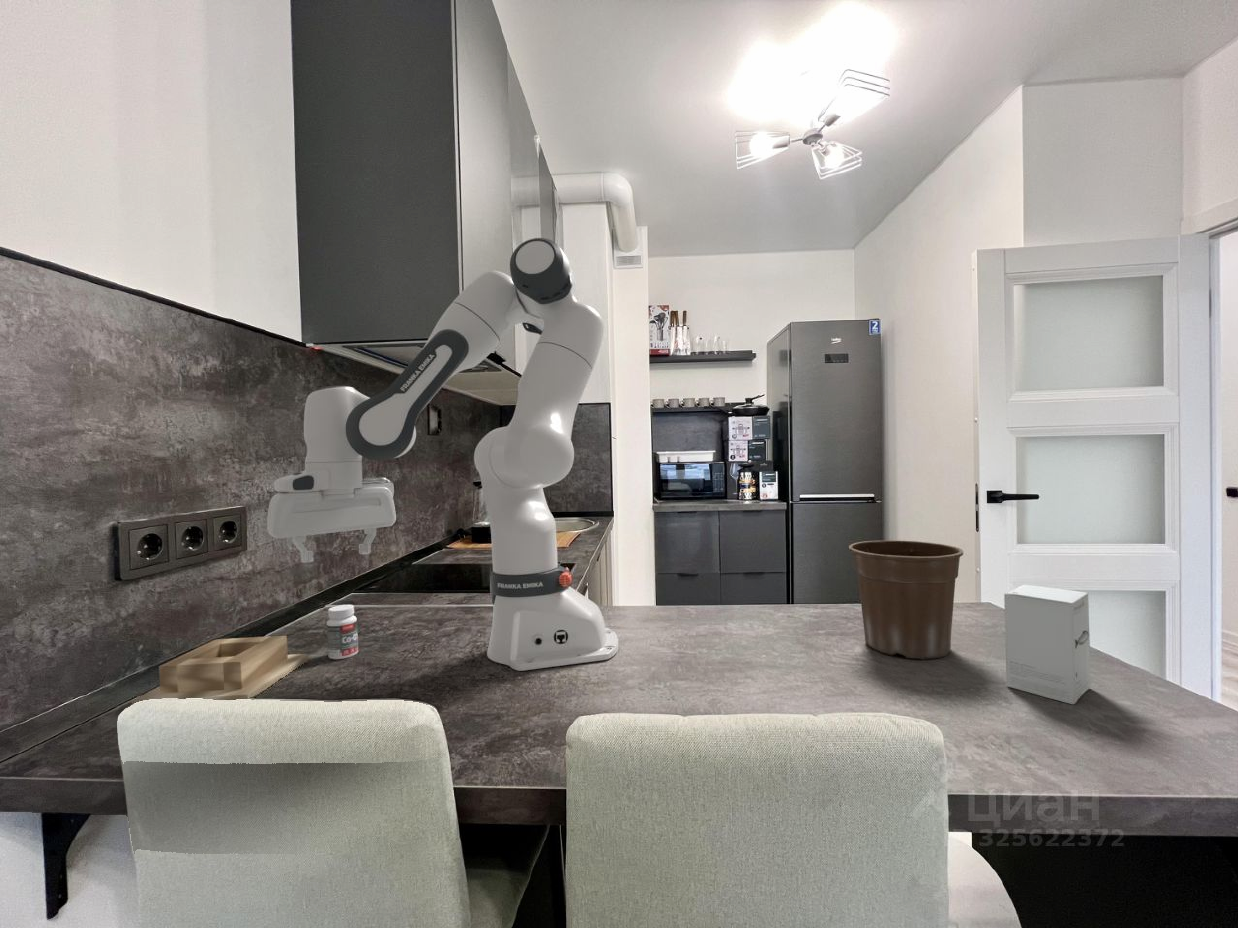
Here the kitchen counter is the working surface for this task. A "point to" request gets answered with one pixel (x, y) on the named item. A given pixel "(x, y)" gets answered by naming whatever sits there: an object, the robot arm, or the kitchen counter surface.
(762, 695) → the kitchen counter surface
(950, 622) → the plant pot
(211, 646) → the birch socket block
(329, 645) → the pill bottle
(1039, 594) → the supplement box
